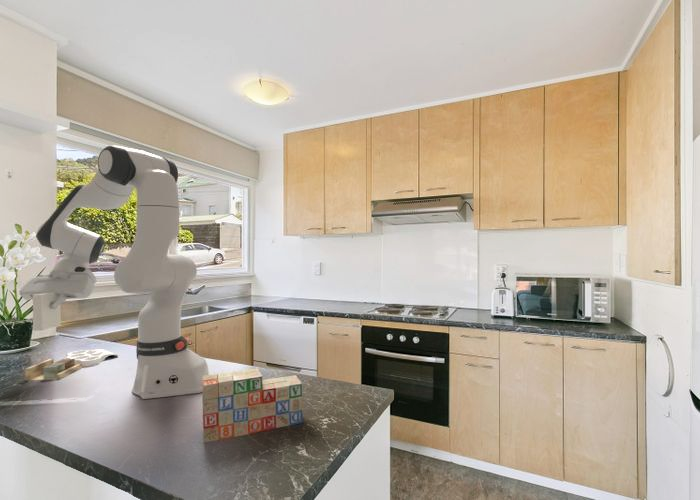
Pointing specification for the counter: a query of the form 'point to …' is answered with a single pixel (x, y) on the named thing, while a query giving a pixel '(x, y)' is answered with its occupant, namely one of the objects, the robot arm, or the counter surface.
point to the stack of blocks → (248, 403)
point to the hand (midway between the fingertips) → (45, 308)
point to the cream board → (45, 311)
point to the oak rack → (37, 373)
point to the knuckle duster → (89, 357)
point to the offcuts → (57, 368)
